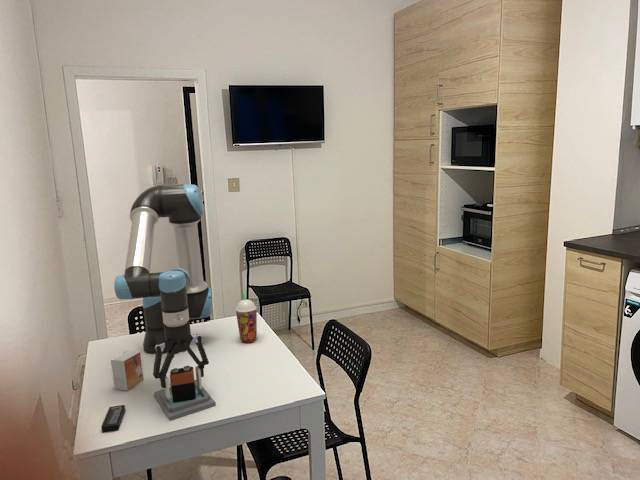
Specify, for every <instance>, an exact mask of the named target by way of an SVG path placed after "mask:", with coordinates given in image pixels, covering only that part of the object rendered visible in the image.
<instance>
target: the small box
mask: <svg viewBox="0 0 640 480" xmlns="http://www.w3.org/2000/svg"><path fill="white" fill-rule="evenodd" d="M110 365H111V371H112V372H111V373H112V380H113V387H114V389H115V390H121V391H126V392H127V391H129V390H131V389H133V388H134V387H135V386H137V385H138V384H140V383H142V382H143V381H144V374H143V373H144V372H143V364H142V357H141V351H135V350H129V349H128V350H126V351H124V352H122V353H120V354H119V355H117V356H116V357H114V358H113V357H112V359H110Z"/></svg>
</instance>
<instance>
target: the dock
mask: <svg viewBox="0 0 640 480" xmlns="http://www.w3.org/2000/svg"><path fill="white" fill-rule="evenodd" d="M194 380H195V389H196V398H195V399H192V400H186V401H180V402H173V398H172V390H171V386H169V391H170V399H167V397H166V396H165V388H164V389H163V388H162V389H160V390H159V389H158V390H156V391H153V396H154V398H155V400H156V402H157V403H158V405H159V406H160V408H161V409H162V411H163V414H165V416H166V418H167V420H168V421H169V422H170V421H173V420H177V419H180V418H183V417H185V416H188V415H191V414H194V413H198V412H201V411H203V410H206V409H207V410H208V409H209V408H213V407H216V406H217V404H216V401H215V400H214V399H213V397H212V396H211V395H210V394H209V393H208V391H207V390H206V388H204V387H203V386H202V389H199V388H198V386H197V380H196V379H194Z"/></svg>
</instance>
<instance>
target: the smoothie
mask: <svg viewBox="0 0 640 480" xmlns="http://www.w3.org/2000/svg"><path fill="white" fill-rule="evenodd" d="M243 296H244V298H243V299H241V300H240V301H239V302H238V303H237V305H236V308H235V314H236V321H237V326H238V327H237V328H238V332H239V339H240V341H241V342H242V343H245V344H250V343H254V342H255V341H256V340H257V337H258V336H257V335H258V330H257V328H258V325H257V324H258V323H257V319H258V318H257V316H258V315H257V309H258V307H257V306H256V303H254V301H253V300H251V299H247V294H246V292H244V295H243Z"/></svg>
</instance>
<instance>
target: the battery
mask: <svg viewBox="0 0 640 480" xmlns="http://www.w3.org/2000/svg"><path fill="white" fill-rule="evenodd" d="M169 380H170V387H171V390H172V398H173V402H180V401H186V400H192V399H195V398H196V389H195V380H196V379H195V373H194V367H193V366H190V365H185V366H183V367H180V368H178V367H174V368H172V369H170V373H169Z"/></svg>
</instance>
